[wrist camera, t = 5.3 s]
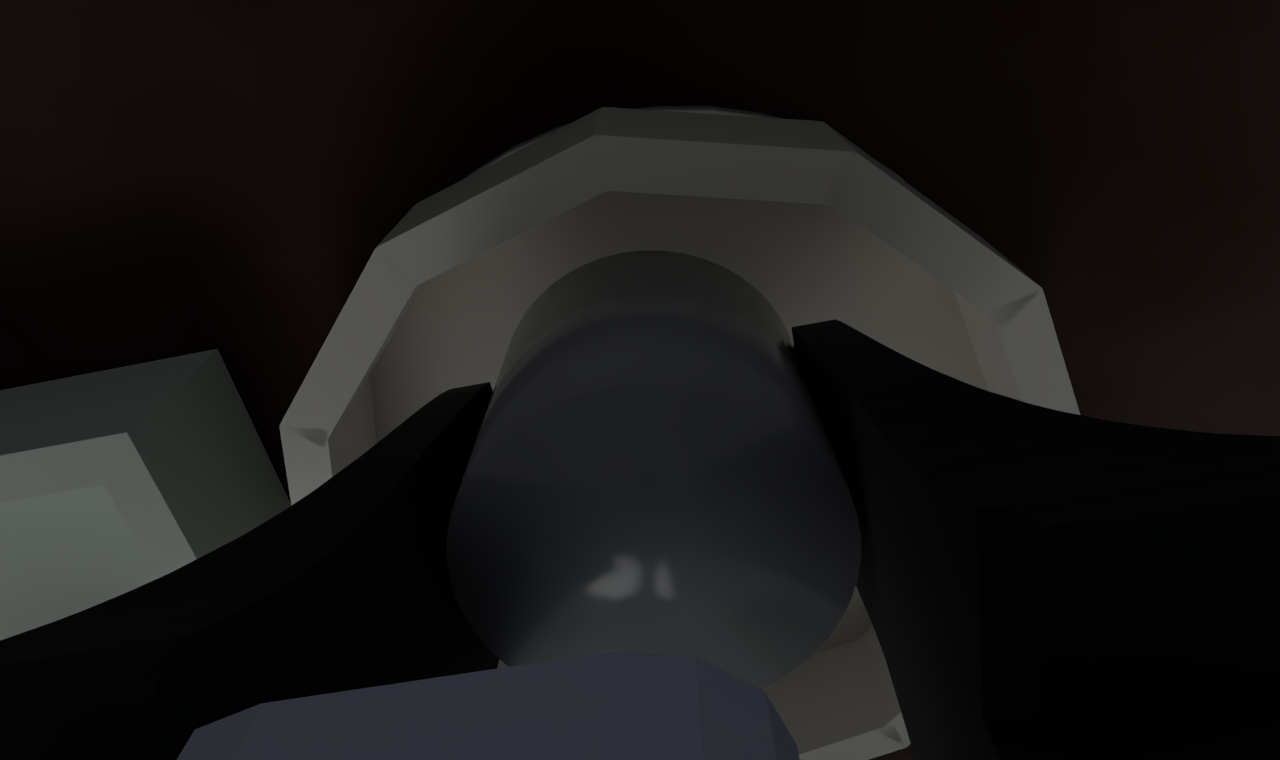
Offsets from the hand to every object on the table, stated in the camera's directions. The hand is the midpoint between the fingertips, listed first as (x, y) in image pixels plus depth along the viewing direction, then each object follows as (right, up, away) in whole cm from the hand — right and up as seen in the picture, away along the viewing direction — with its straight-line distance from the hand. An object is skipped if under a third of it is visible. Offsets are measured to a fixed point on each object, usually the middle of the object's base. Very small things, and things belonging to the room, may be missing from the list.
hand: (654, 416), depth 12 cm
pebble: (0, 0, +1) cm, 1 cm away
